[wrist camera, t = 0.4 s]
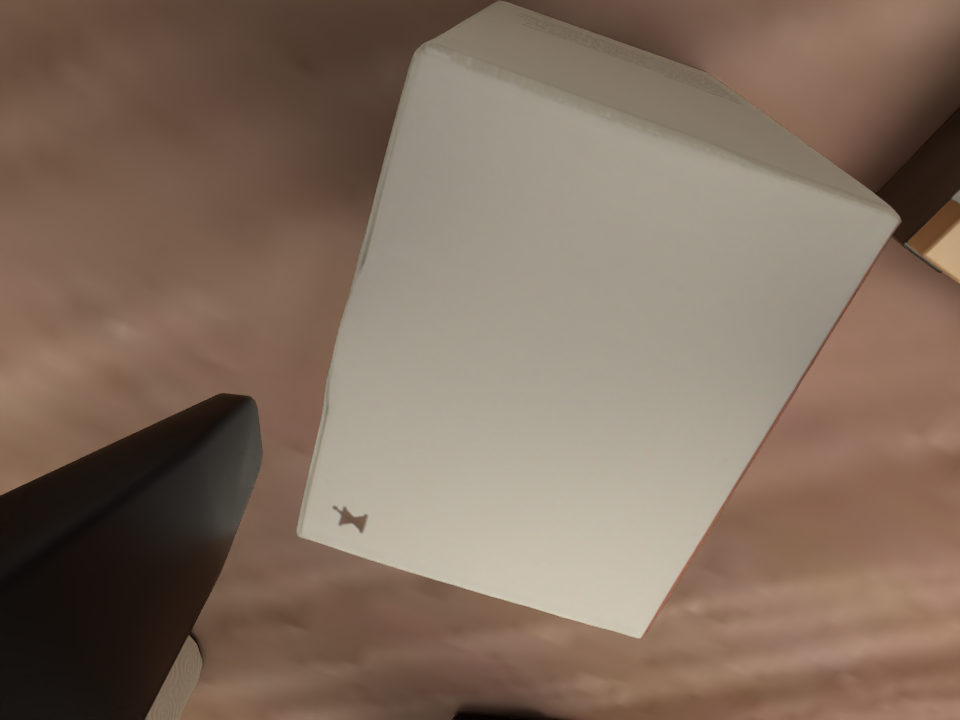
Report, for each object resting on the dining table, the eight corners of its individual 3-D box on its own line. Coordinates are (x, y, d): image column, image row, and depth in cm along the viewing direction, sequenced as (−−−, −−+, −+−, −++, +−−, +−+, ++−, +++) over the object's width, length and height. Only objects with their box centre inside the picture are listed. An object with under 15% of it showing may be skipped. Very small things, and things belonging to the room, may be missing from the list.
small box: (606, 322, 24) (643, 654, 12) (419, 261, 24) (281, 545, 12) (718, 68, 20) (922, 213, 9) (496, -9, 20) (399, 34, 8)
